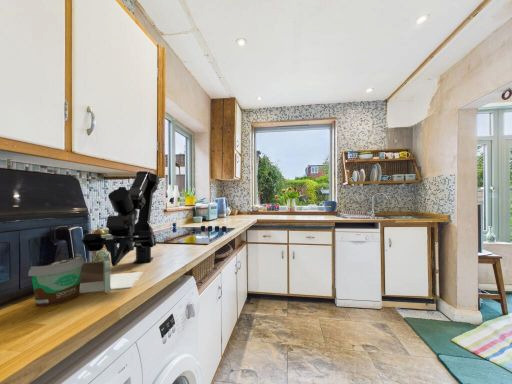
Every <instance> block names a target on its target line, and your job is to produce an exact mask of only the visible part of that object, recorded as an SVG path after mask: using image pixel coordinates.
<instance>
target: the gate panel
mask: <svg viewBox="0 0 512 384" xmlns="http://www.w3.org/2000/svg"><path fill="white" fill-rule="evenodd" d="M102 261H103V265H104V267H103V281H104V288H105V291H104V293H106V294H107V293H110V292H111V290H110V275H111V272H112V268H111V266H112V265H111V258H110V255H109V253H103V259H102Z"/></svg>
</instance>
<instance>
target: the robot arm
mask: <svg viewBox="0 0 512 384" xmlns="http://www.w3.org/2000/svg"><path fill="white" fill-rule="evenodd" d="M159 185H160V177H159V176H158V174H155V173H152V172H151V171H148V170H141V171H140V170H139V171H137V172H136V176H135V178H134V180H133V183H132V184H131V186H130V188H129V189H127V187H126V186H119V187H118V188H117V189H114V190H113V191H111V192H109V193H108V197H107V198H108V200H109V202H110V204H111V206H112V207H111V208H112V209H113V210H114V212H115V213H117V215H108V216H107V218H106V224H105V228H107V229H108V230H107V233H108V235H105V237H103V235H102V234H101V233H100V232H95V233H92V232H91V233H85V234H84V235H83V236H82V239H81V242H82V244H83V245H84V247H85V249H86V251H88V252H99V251H102V250H103V249H104V247H105V249H106V251H107V252H108V253H109V254H110V255H109V256H110V264H111V266H112V267H116V266H117V265H118V264H119V263H120V262H121V260H123V258H125V256H126V255H127V254H129V253H130V252H131V251H134V249H135V260H133V262H132V263H133V264H143V263H151V262H152V260H153V259H154V257H153V256H152V248H153V247H156V246H157V245H156V244H157V241H156V236H155V233H154V231H153V230H154V229H153V228H152V226H151V223H150V221H151V215H152V214H151V213H152V206H153V196H154V193H155V192H156V191H157V190H158V187H159ZM138 210H139V211H138ZM136 221H137V222H136Z"/></svg>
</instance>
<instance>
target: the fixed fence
mask: <svg viewBox="0 0 512 384" xmlns="http://www.w3.org/2000/svg"><path fill="white" fill-rule="evenodd" d="M103 267H104V265H103V260H97V261H85V263H84V265H82V268H81V279H80V283H89V282H100V281H103Z"/></svg>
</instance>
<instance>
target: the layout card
mask: <svg viewBox="0 0 512 384" xmlns="http://www.w3.org/2000/svg"><path fill="white" fill-rule="evenodd" d="M143 273H144V272H143V271H139V272H138V271H136V272H125V273H124V272H123V273H114V274H110V291H114V290H115V291H116V290H124V289H125V290H126V289H132V288H133V287H134V285H135V284H136V283H137V281H138V279H139V278H140V277H141V276H142V275H143ZM102 291H103V292H105V288H104V281H100V282H89V283H80V291H79V294H83V293H95V292H102Z"/></svg>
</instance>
